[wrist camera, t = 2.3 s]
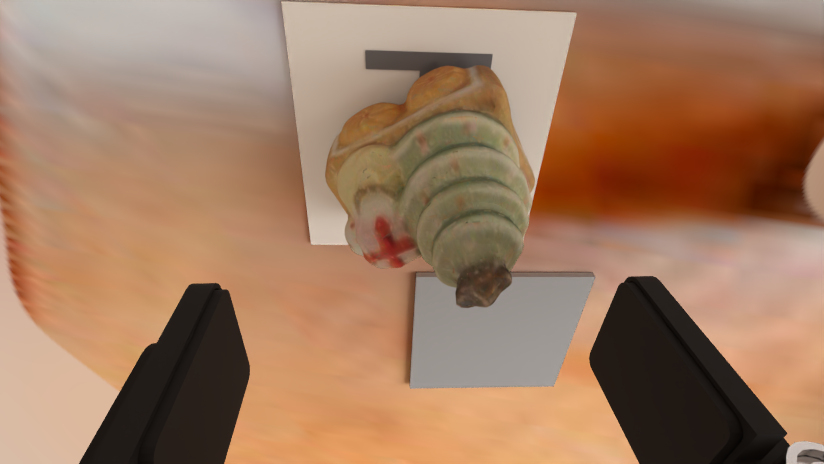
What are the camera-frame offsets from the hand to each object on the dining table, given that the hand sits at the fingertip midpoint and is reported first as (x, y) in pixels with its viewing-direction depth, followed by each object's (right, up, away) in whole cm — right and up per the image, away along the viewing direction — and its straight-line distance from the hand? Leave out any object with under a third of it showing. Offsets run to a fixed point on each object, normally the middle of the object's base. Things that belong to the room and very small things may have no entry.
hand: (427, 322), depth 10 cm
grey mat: (+5, -4, +16) cm, 17 cm away
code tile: (0, +6, +9) cm, 11 cm away
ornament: (0, +6, +9) cm, 10 cm away
